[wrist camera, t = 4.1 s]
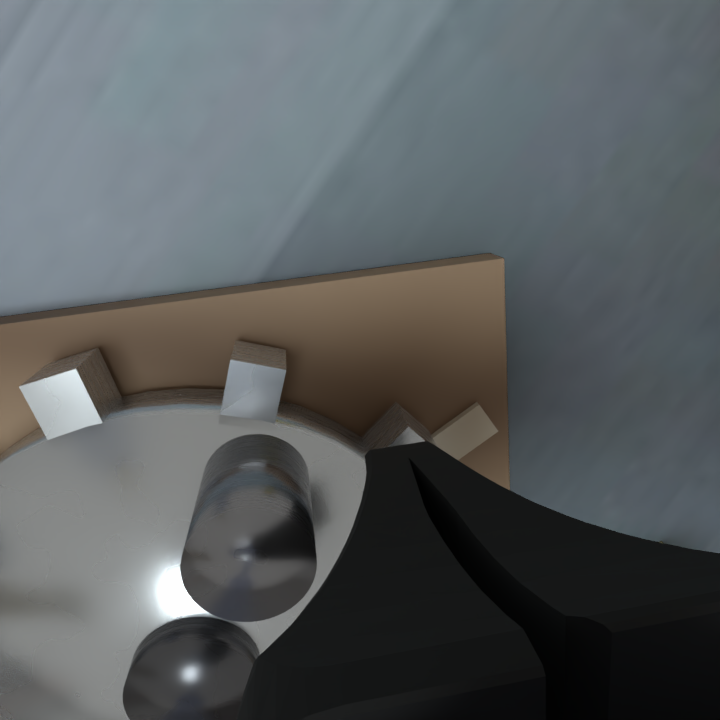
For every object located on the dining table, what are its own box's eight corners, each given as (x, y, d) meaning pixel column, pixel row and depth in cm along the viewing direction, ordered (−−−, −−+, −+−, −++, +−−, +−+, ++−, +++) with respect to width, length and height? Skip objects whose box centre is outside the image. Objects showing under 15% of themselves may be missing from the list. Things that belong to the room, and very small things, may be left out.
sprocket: (498, 771, 19) (559, 940, 15) (-11, 881, 18) (-104, 1105, 13) (479, 295, 14) (567, 348, 10) (-251, 395, 12) (-529, 510, 8)
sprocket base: (506, 746, 21) (519, 779, 20) (-9, 856, 19) (-27, 899, 18) (490, 252, 15) (507, 259, 14) (-252, 349, 13) (-302, 366, 12)
